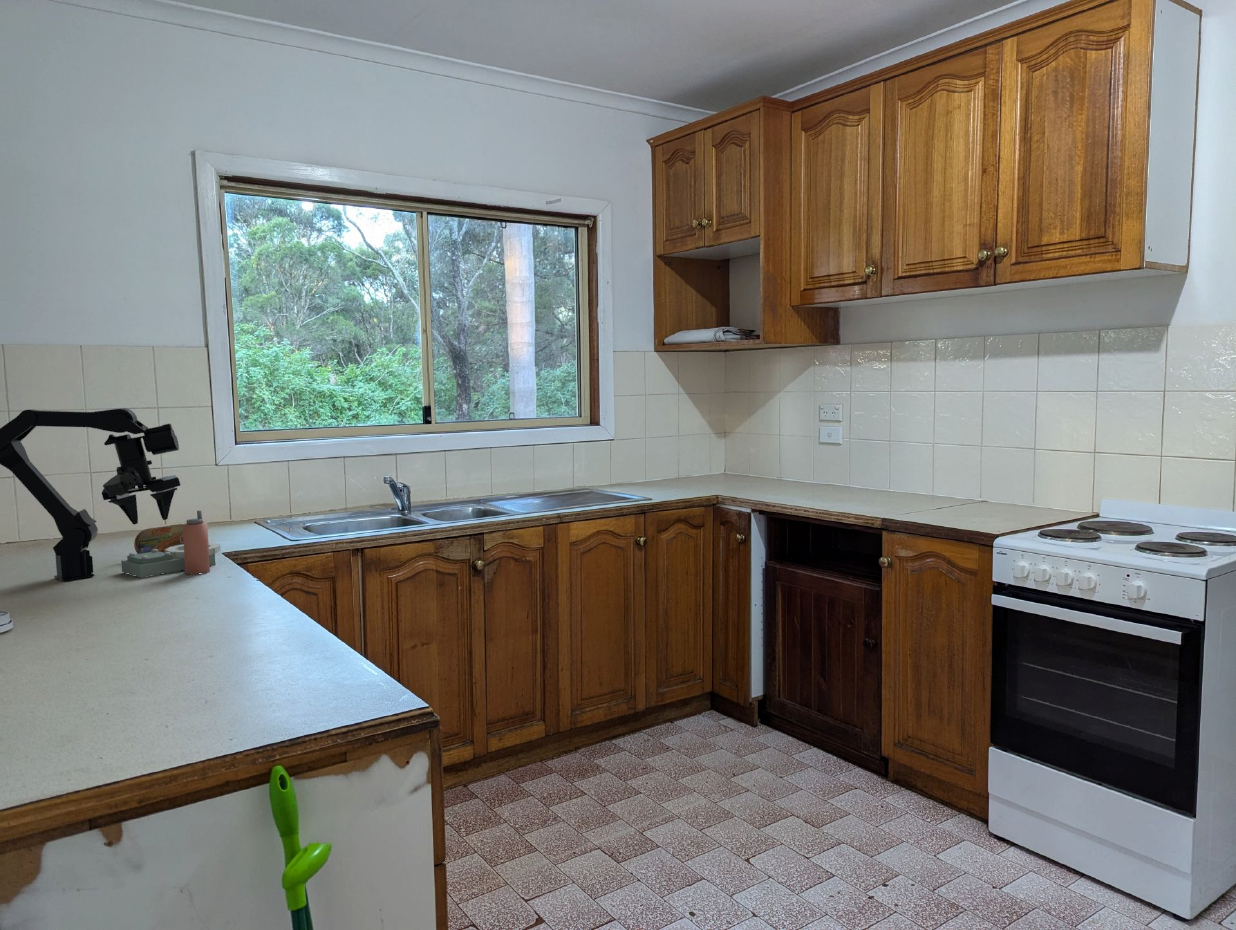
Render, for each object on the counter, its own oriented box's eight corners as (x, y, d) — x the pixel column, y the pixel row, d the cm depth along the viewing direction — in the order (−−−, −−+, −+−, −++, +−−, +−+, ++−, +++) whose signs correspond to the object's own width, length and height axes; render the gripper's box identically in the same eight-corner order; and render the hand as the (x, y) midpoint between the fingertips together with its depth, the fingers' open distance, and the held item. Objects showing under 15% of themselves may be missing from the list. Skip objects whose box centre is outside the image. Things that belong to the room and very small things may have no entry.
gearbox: (142, 578, 201) (141, 558, 201) (120, 572, 209) (119, 553, 208) (228, 563, 218) (227, 544, 217) (205, 558, 225) (204, 540, 225)
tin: (139, 562, 221) (136, 530, 220) (133, 560, 223) (131, 529, 222) (196, 552, 233) (195, 522, 232) (191, 551, 235) (189, 521, 234)
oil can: (192, 575, 204) (188, 513, 202) (181, 573, 207) (177, 511, 206) (214, 571, 208) (210, 510, 207) (203, 569, 211) (199, 509, 210)
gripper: (74, 471, 200) (93, 535, 203) (136, 460, 195) (155, 526, 197) (113, 462, 211) (130, 523, 213) (173, 451, 205) (190, 514, 208)
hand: (150, 521), depth 208 cm, fingers open, 9 cm apart
